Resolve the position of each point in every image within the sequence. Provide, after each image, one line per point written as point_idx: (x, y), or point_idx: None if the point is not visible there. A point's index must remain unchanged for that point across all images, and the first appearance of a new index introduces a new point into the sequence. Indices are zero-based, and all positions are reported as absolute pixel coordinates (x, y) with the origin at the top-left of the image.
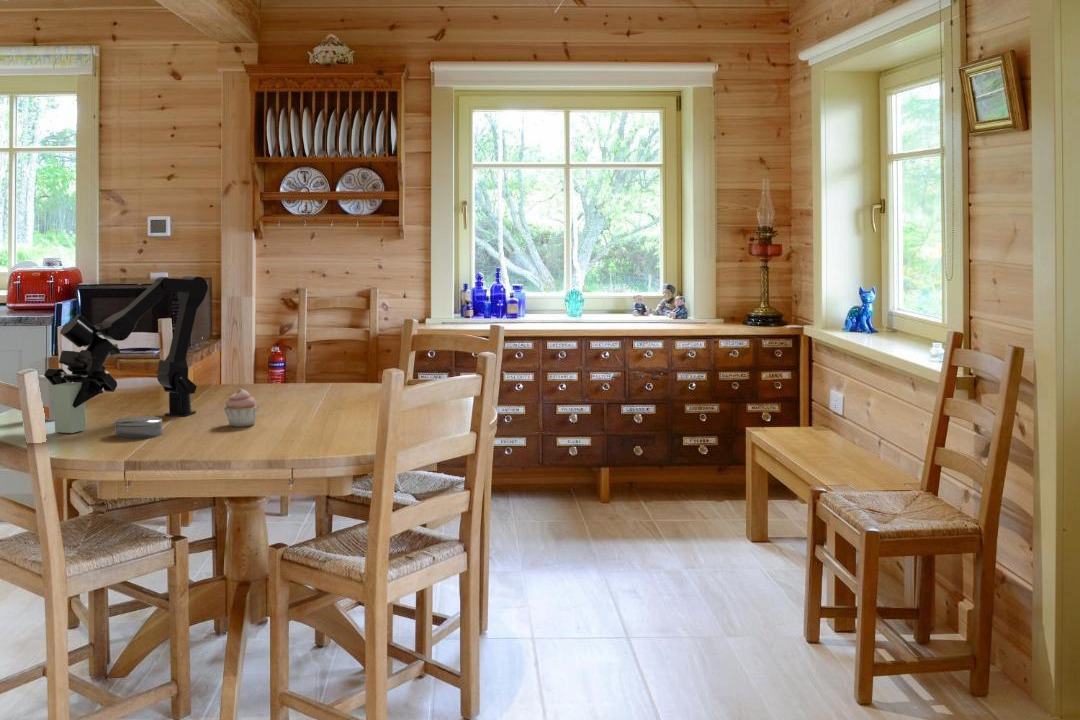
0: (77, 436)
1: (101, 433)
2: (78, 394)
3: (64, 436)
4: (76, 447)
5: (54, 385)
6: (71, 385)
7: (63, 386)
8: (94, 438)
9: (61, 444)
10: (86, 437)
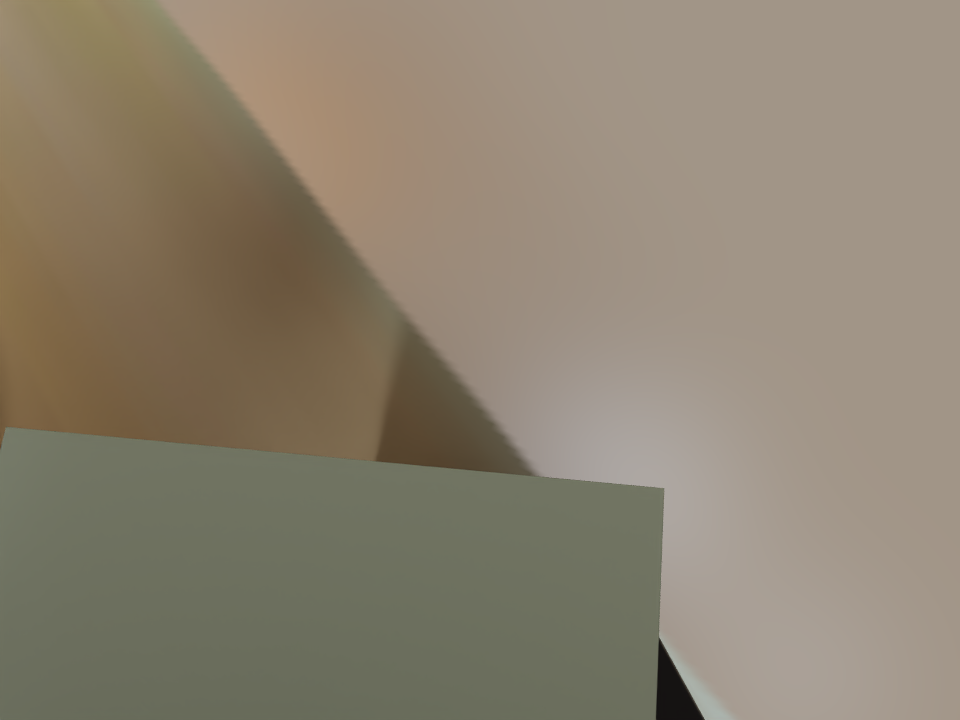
0: (253, 420)
1: None
2: None
3: (372, 389)
4: (18, 39)
5: (591, 487)
6: (5, 595)
7: (228, 452)
8: (53, 377)
9: (190, 96)
10: (147, 399)
